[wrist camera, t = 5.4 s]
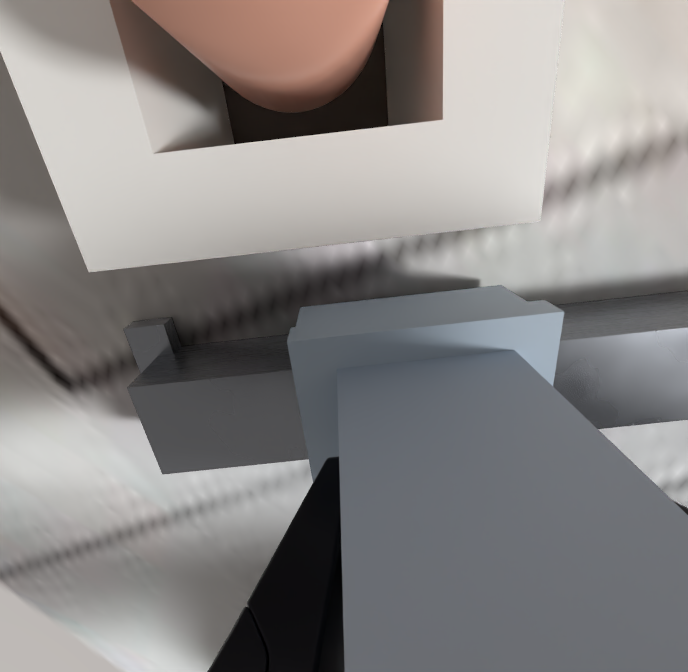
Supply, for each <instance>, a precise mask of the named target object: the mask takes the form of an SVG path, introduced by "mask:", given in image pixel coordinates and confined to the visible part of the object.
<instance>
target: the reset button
mask: <svg viewBox="0 0 688 672" xmlns="http://www.w3.org/2000/svg"><path fill="white" fill-rule="evenodd" d="M131 1H132V2H133V3H134V4H136V5H137V6H138V7H139V8H140V9H141V10H142V11H144V12H145V13H146V14H147V15H148V16H149V17H150V18H152V19H153V20H154V21H155V22H156V23H157V24H159V25H160V26H161V27H162V28H163V29H164V30H165V31H167V32H168V33H169V34H170V35H171V36H172V37H173V38H175V39H176V40H177V41H178V42H179V43H180V44H181V45H183V46H184V47H185V48H186V49H187V50H188V51H189V52H191V53H192V54H193V55H194V56H195V57H196V58H198V59H199V60H200V61H201V62H202V63H203V64H204V65H206V66H207V67H208V68H209V69H210V70H211V71H212V72H214V73H215V74H216V75H217V76H218V77H219V78H220V79H222V80H223V81H224V82H225V83H226V84H227V85H228V86H230V87H231V88H232V89H233V90H234V91H236V92H237V93H238V94H240V95H241V96H242V97H244V98H245V99H247V100H249V101H251V102H252V103H254V104H256V105H259V106H261V107H263V108H266V109H270V110H274V111H278V112H288V113H292V112H304V111H309V110H313V109H316V108H318V107H321V106H323V105H325V104H327V103H329V102H331V101H333V100H334V99H335V98H337V97H338V96H340V95H341V94H342V93H343V92H344V91H345V90H346V89H348V88H349V87H350V86H351V85H352V83H353V82H354V81H355V80H356V78H357V77H358V76H359V75H360V73H361V72H362V70H363V68H364V67H365V65H366V63H367V62H368V59H369V57H370V55H371V53H372V50H373V48H374V45H375V42H376V39H377V36H378V33H379V30H380V27H381V24H382V21H383V18H384V15H385V12H386V8H387V5H388V2H389V0H131Z"/></svg>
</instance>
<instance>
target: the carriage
mask: <svg viewBox="0 0 688 672" xmlns="http://www.w3.org/2000/svg"><path fill="white" fill-rule="evenodd" d="M563 317H564V311H563V310H561V309H559V308H558V307H556V306H554V305H552V304H551V303H549V302H547V301H546V300H538V301H529V302H527V301H525V300H524V299H522V298H521V297H519V296H518V295H516V294H515V293H513V292H511V291H510V290H508V289H507V288H505V287H504V286H502V285H497V286H488V287H479V288H470V289H461V290H452V291H443V292H434V293H425V294H416V295H407V296H398V297H389V298H380V299H371V300H362V301H353V302H343V303H334V304H325V305H316V306H307V307H300V311H299V315H298V319H297V323H296V327H292V328H290V332H289V336H288V339H287V345H288V351H289V356H290V361H291V367H292V372H293V377H294V383H295V388H296V393H297V399H298V404H299V409H300V415H301V420H302V425H303V431H304V436H305V441H306V447H307V452H308V457H309V462H310V468H311V473H312V478H313V482H314V480H315V479H316V477H317V475H318V473H319V471H320V470H321V468H322V466H323V464H324V462H325V461H326V459H327V458H329V457H337V456H339V472H340V511H341V550H342V588H343V627H344V666H345V672H688V515H687V514H686V513H685V512H684V511H683V510H682V509H681V508H680V507H679V506H678V505H677V504H676V503H675V502H673V501H672V500H671V499H670V498H669V497H668V496H667V495H666V494H665V493H664V492H663V491H662V490H661V489H660V488H659V487H658V486H657V485H656V484H655V483H654V482H652V481H651V480H650V479H649V478H648V477H647V476H646V475H645V474H644V473H643V472H642V471H641V470H640V469H639V468H638V467H637V466H636V465H635V464H634V463H633V462H632V461H630V460H629V459H628V458H627V457H626V456H625V455H624V454H623V453H622V452H621V451H620V450H619V449H618V448H617V447H616V446H615V445H614V444H613V443H612V442H611V441H610V440H608V439H607V438H606V437H605V436H604V435H603V434H602V433H601V432H600V431H599V430H598V429H597V428H596V427H595V426H594V425H593V424H592V423H591V422H590V421H589V420H588V419H586V418H585V417H584V416H583V415H582V414H581V413H580V412H579V411H578V410H577V409H576V408H575V407H574V406H573V405H572V404H571V403H570V402H569V401H568V400H567V399H565V398H564V397H563V396H562V395H561V394H560V393H559V392H558V391H557V390H556V389H555V388H554V387H553V383H554V377H555V370H556V363H557V357H558V350H559V344H560V337H561V331H562V324H563Z"/></svg>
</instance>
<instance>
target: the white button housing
mask: <svg viewBox="0 0 688 672" xmlns="http://www.w3.org/2000/svg"><path fill="white" fill-rule="evenodd" d="M564 6H565V0H389V2H388V5H387V8H386V12H385V15H384V18H383V23H384V44H385V65H386V86H387V106H388V126H386V127H377V128H369V129H360V130H352V131H343V132H335V133H326V134H318V135H309V136H300V137H292V138H283V139H275V140H266V141H258V142H249V143H241V144H234V139H233V134H232V129H231V124H230V119H229V114H228V109H227V104H226V100H225V95H224V90H223V85H222V80H221V79H220V78H219V77H218V76H217V75H216V74H215V73H214V72H212V71H211V70H210V69H209V68H208V67H207V66H206V65H204V64H203V63H202V62H201V61H200V60H199V59H198V58H196V57H195V56H194V55H193V54H192V53H191V52H189V51H188V50H187V49H186V48H185V47H184V46H183V45H181V44H180V43H179V42H178V41H177V40H176V39H175V38H173V37H172V36H171V35H170V34H169V33H168V32H167V31H165V30H164V29H163V28H162V27H161V26H160V25H159V24H157V23H156V22H155V21H154V20H153V19H152V18H150V17H149V16H148V15H147V14H146V13H145V12H144V11H142V10H141V9H140V8H139V7H138V6H137V5H136V4H134V3H133V2H132V1H131V0H0V52H1V54H2V57H3V59H4V62H5V64H6V67H7V69H8V72H9V74H10V77H11V79H12V82H13V84H14V87H15V89H16V92H17V94H18V97H19V99H20V102H21V104H22V107H23V109H24V112H25V114H26V117H27V119H28V122H29V124H30V127H31V129H32V132H33V134H34V137H35V139H36V142H37V144H38V147H39V149H40V152H41V154H42V157H43V159H44V162H45V164H46V167H47V169H48V172H49V174H50V177H51V179H52V182H53V184H54V187H55V189H56V192H57V194H58V197H59V199H60V202H61V204H62V207H63V209H64V212H65V214H66V217H67V219H68V222H69V224H70V227H71V229H72V232H73V234H74V237H75V239H76V242H77V244H78V247H79V249H80V252H81V254H82V257H83V259H84V262H85V264H86V267H87V269H88V272H97V271H106V270H115V269H124V268H133V267H141V266H150V265H159V264H168V263H177V262H186V261H195V260H203V259H212V258H221V257H230V256H239V255H248V254H257V253H265V252H274V251H283V250H292V249H301V248H310V247H319V246H327V245H336V244H345V243H354V242H363V241H372V240H381V239H389V238H398V237H407V236H416V235H425V234H434V233H443V232H451V231H460V230H469V229H478V228H487V227H496V226H505V225H513V224H522V223H531V222H540V221H541V212H542V203H543V194H544V185H545V176H546V167H547V158H548V149H549V140H550V131H551V122H552V113H553V104H554V95H555V86H556V77H557V68H558V59H559V50H560V42H561V33H562V24H563V15H564Z"/></svg>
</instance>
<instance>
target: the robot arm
mask: <svg viewBox="0 0 688 672" xmlns="http://www.w3.org/2000/svg"><path fill="white" fill-rule="evenodd" d="M671 500H672V499H671ZM672 501H673V502H675V501H674V500H672ZM675 503H676V504H677V505H678V506H679V507H680V508H681V509H682V510H683V511H684V512H685V513H686V514H687V515H688V508H687V507H685V506H683V505H681V504H679V503H677V502H675ZM247 605H248V607H245V608H244V609H243V611H242V612H241V614H240V616H239V618H238V620H237V622H236V623H235V625H234V627H233V629H232V631H231V632H230V634H229V636H228V638H227V639H226V641H225V643H224V644H223V646H222V648H221V650H220V651H219V653H218V655H217V656H216V658H215V660H214V662H213V663H212V665H211V667H210V668H209V670H208V671H207V672H345V666H344V627H343V588H342V550H341V511H340V472H339V456H337V457H329V458H327V459H326V461H325V462H324V464H323V466H322V468H321V470H320V471H319V473H318V475H317V477H316V479H315V480H314V482H313V484H312V486H311V488H310V490H309V491H308V493H307V495H306V497H305V499H304V500H303V502H302V504H301V506H300V508H299V509H298V511H297V513H296V515H295V517H294V519H293V520H292V522H291V524H290V526H289V528H288V529H287V531H286V533H285V535H284V537H283V539H282V540H281V542H280V544H279V546H278V548H277V549H276V551H275V553H274V555H273V557H272V558H271V560H270V562H269V564H268V566H267V568H266V569H265V571H264V573H263V575H262V577H261V578H260V580H259V582H258V584H257V586H256V587H255V589H254V591H253V593H252V595H251V597H250V598H249V600H248V602H247Z"/></svg>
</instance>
